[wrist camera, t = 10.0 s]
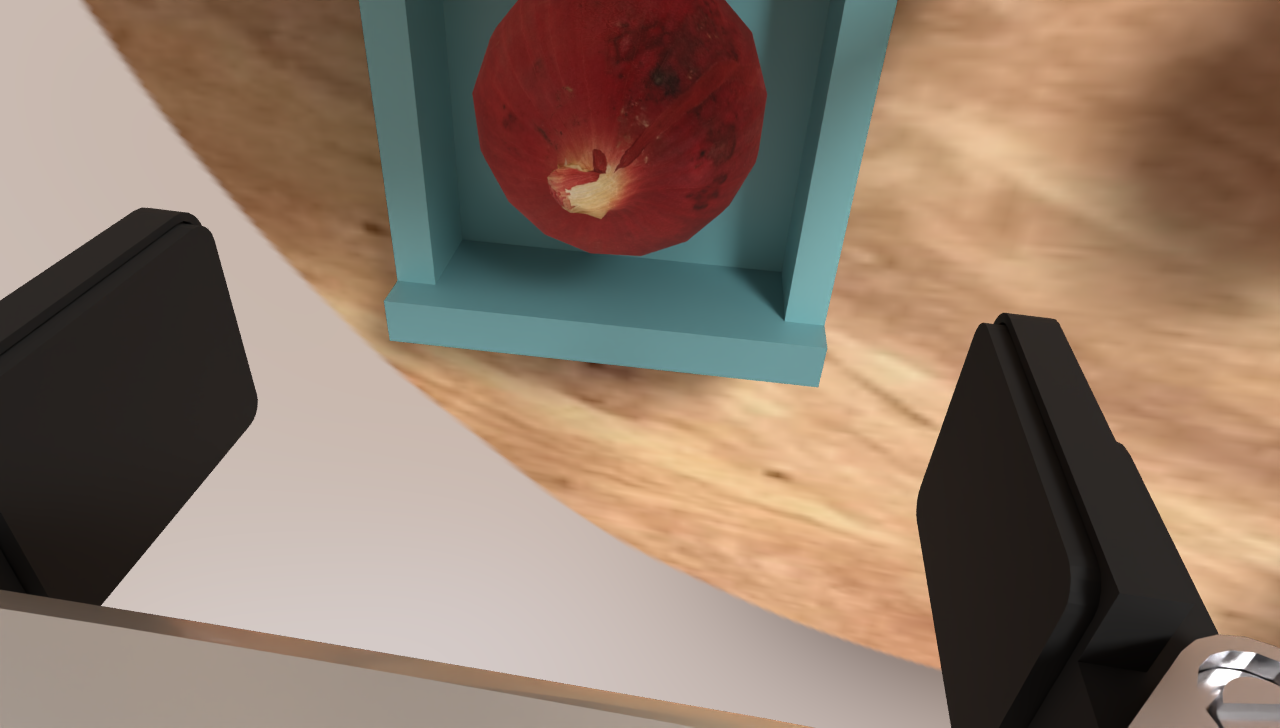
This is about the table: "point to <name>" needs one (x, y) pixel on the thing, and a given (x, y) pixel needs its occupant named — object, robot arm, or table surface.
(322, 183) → the table surface
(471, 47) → the shelf tray
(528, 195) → the onion
